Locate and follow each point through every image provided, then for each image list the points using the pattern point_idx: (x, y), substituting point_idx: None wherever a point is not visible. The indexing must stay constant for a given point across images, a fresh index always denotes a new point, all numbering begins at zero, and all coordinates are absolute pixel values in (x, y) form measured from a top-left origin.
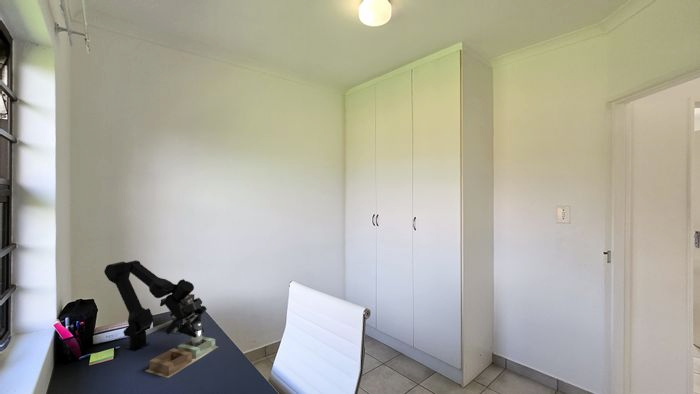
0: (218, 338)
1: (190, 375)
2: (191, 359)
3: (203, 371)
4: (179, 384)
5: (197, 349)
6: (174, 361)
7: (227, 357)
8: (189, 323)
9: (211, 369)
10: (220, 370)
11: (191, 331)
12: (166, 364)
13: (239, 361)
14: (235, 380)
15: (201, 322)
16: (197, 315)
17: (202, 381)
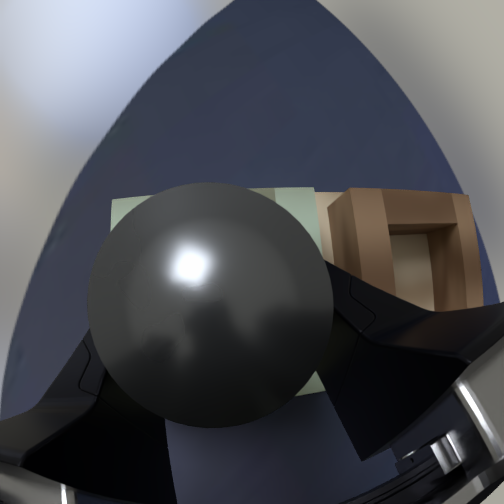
0: (37, 320)
1: (376, 142)
2: (334, 203)
3: (329, 112)
4: (421, 141)
5: (300, 188)
6: (444, 204)
7: (186, 98)
8: (411, 340)
9: (300, 93)
10: (285, 63)
11: (339, 272)
12: (469, 219)
13: (197, 46)
14: (298, 12)
15: (147, 209)
16: (36, 499)
17: (366, 80)
